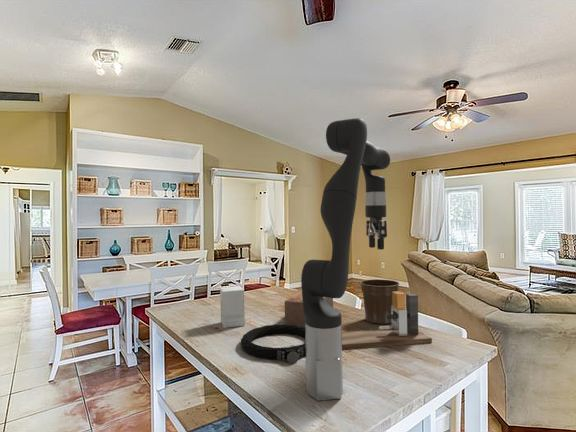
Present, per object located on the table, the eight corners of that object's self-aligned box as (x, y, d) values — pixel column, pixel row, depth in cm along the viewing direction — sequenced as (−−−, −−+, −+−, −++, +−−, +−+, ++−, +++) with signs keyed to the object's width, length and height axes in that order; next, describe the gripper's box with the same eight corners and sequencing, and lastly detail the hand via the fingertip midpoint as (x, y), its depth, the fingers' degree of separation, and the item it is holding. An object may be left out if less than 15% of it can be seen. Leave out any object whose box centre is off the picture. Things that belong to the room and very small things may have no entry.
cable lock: (305, 319, 138) (335, 346, 109) (305, 329, 138) (335, 358, 109) (235, 326, 130) (247, 357, 101) (235, 337, 130) (248, 370, 101)
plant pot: (353, 317, 151) (352, 280, 151) (382, 313, 158) (382, 277, 158) (376, 328, 136) (375, 287, 136) (408, 322, 143) (407, 283, 143)
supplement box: (241, 319, 151) (240, 285, 151) (245, 325, 142) (244, 289, 142) (220, 322, 148) (219, 287, 148) (223, 328, 139) (222, 291, 139)
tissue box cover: (318, 328, 138) (318, 303, 138) (284, 325, 143) (284, 301, 143) (333, 311, 162) (332, 290, 162) (303, 309, 167) (303, 288, 167)
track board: (431, 342, 120) (431, 297, 120) (337, 349, 115) (336, 302, 115) (414, 331, 132) (413, 290, 132) (327, 337, 127) (327, 295, 127)
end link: (407, 335, 122) (406, 294, 122) (382, 337, 121) (381, 295, 121) (399, 330, 128) (398, 290, 128) (375, 331, 127) (374, 291, 127)
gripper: (393, 203, 121) (394, 249, 121) (378, 205, 136) (378, 246, 135) (372, 203, 121) (373, 250, 120) (359, 205, 135) (360, 247, 135)
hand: (376, 248), depth 128 cm, fingers open, 8 cm apart
